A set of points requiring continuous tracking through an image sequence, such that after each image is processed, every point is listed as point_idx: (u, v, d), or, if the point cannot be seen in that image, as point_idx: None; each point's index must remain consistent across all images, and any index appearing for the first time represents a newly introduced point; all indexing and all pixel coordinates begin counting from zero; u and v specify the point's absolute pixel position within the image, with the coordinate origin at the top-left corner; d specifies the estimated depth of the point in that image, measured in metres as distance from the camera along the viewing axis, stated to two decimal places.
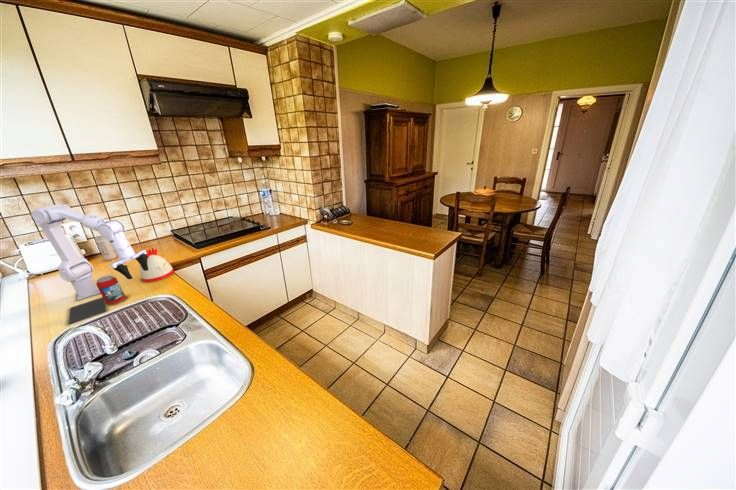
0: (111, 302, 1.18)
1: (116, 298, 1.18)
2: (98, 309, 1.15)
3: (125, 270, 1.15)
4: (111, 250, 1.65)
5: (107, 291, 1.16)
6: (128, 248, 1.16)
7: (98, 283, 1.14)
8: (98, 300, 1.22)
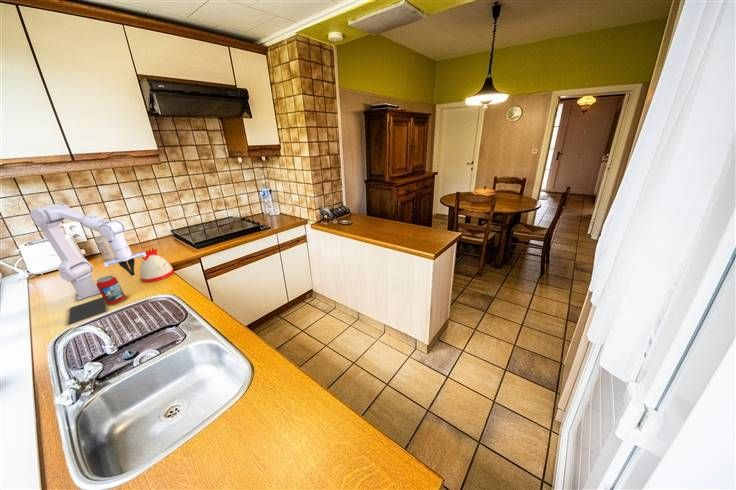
0: (111, 302, 1.18)
1: (116, 298, 1.18)
2: (98, 309, 1.15)
3: (125, 268, 1.19)
4: (111, 250, 1.65)
5: (107, 291, 1.16)
6: (122, 250, 1.16)
7: (98, 283, 1.14)
8: (98, 300, 1.22)
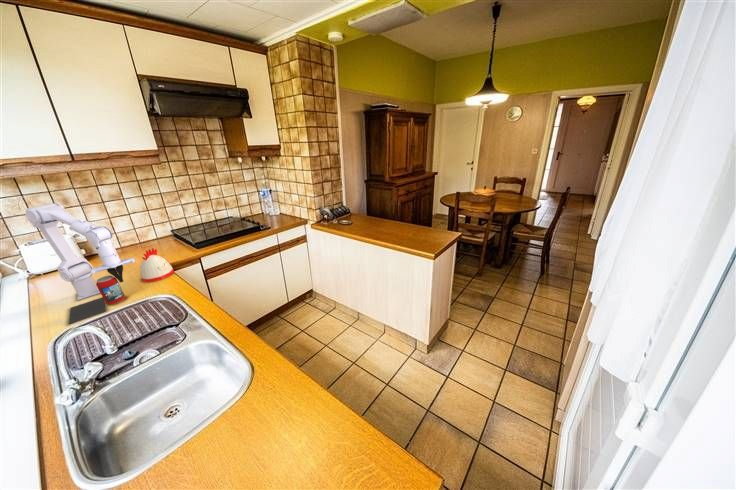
0: (111, 302, 1.18)
1: (116, 298, 1.18)
2: (98, 309, 1.15)
3: (113, 274, 1.17)
4: None
5: (107, 291, 1.16)
6: (110, 257, 1.14)
7: (98, 283, 1.14)
8: (98, 300, 1.22)
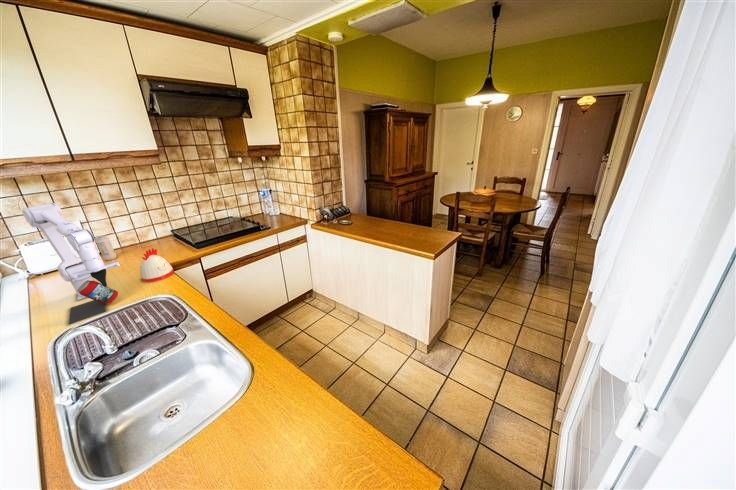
0: (107, 302, 1.17)
1: (108, 297, 1.16)
2: (98, 309, 1.15)
3: (97, 278, 1.13)
4: (111, 250, 1.65)
5: (94, 296, 1.13)
6: (92, 261, 1.10)
7: (79, 292, 1.11)
8: None
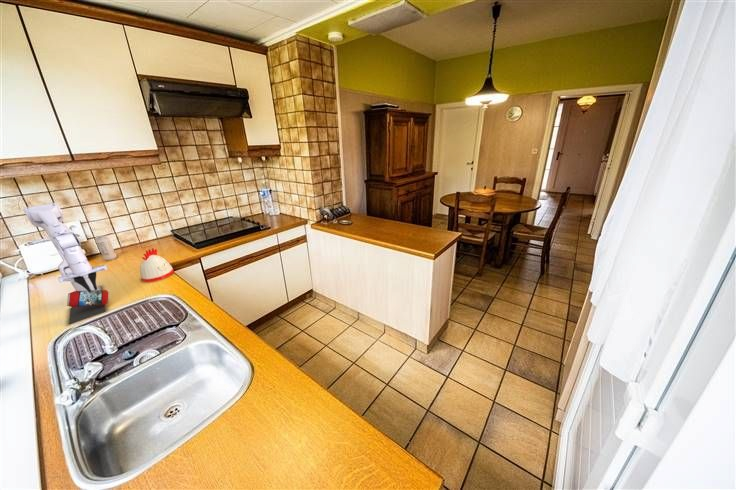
0: (103, 303, 1.16)
1: (100, 299, 1.15)
2: (98, 309, 1.15)
3: (81, 283, 1.10)
4: (111, 250, 1.65)
5: (85, 303, 1.12)
6: (78, 265, 1.08)
7: (70, 306, 1.10)
8: None
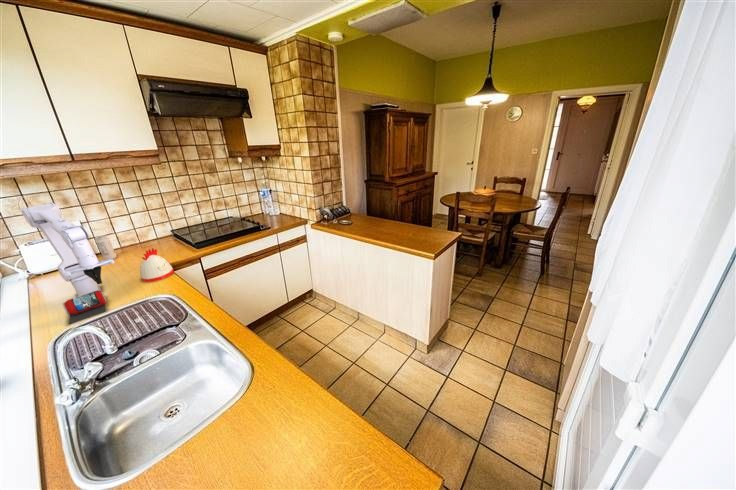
0: (101, 301, 1.16)
1: (95, 298, 1.14)
2: (98, 309, 1.15)
3: (90, 276, 1.12)
4: (111, 250, 1.65)
5: (83, 306, 1.12)
6: (86, 258, 1.09)
7: (71, 313, 1.10)
8: None
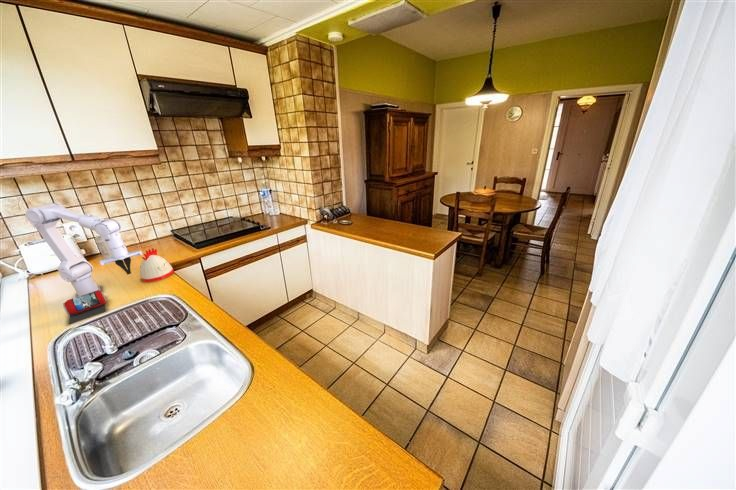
0: (101, 301, 1.16)
1: (95, 298, 1.14)
2: (98, 309, 1.15)
3: (121, 266, 1.20)
4: None
5: (83, 305, 1.12)
6: (118, 249, 1.17)
7: (71, 313, 1.10)
8: None
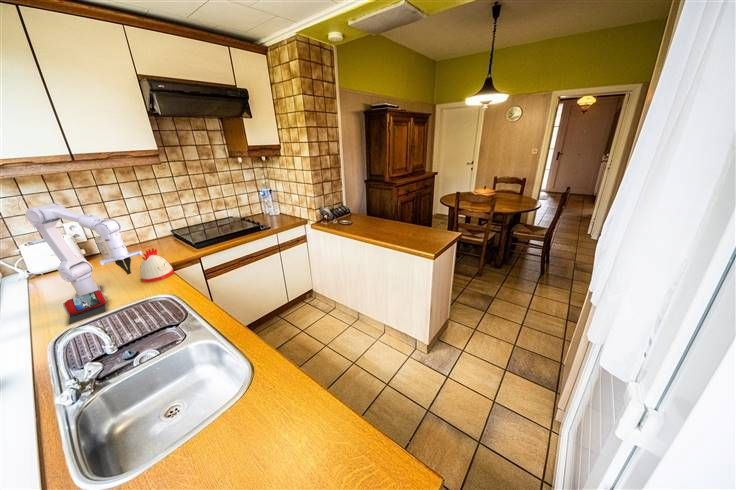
0: (101, 301, 1.16)
1: (95, 298, 1.14)
2: (98, 309, 1.15)
3: (121, 266, 1.20)
4: None
5: (83, 305, 1.12)
6: (118, 249, 1.17)
7: (71, 313, 1.10)
8: None
